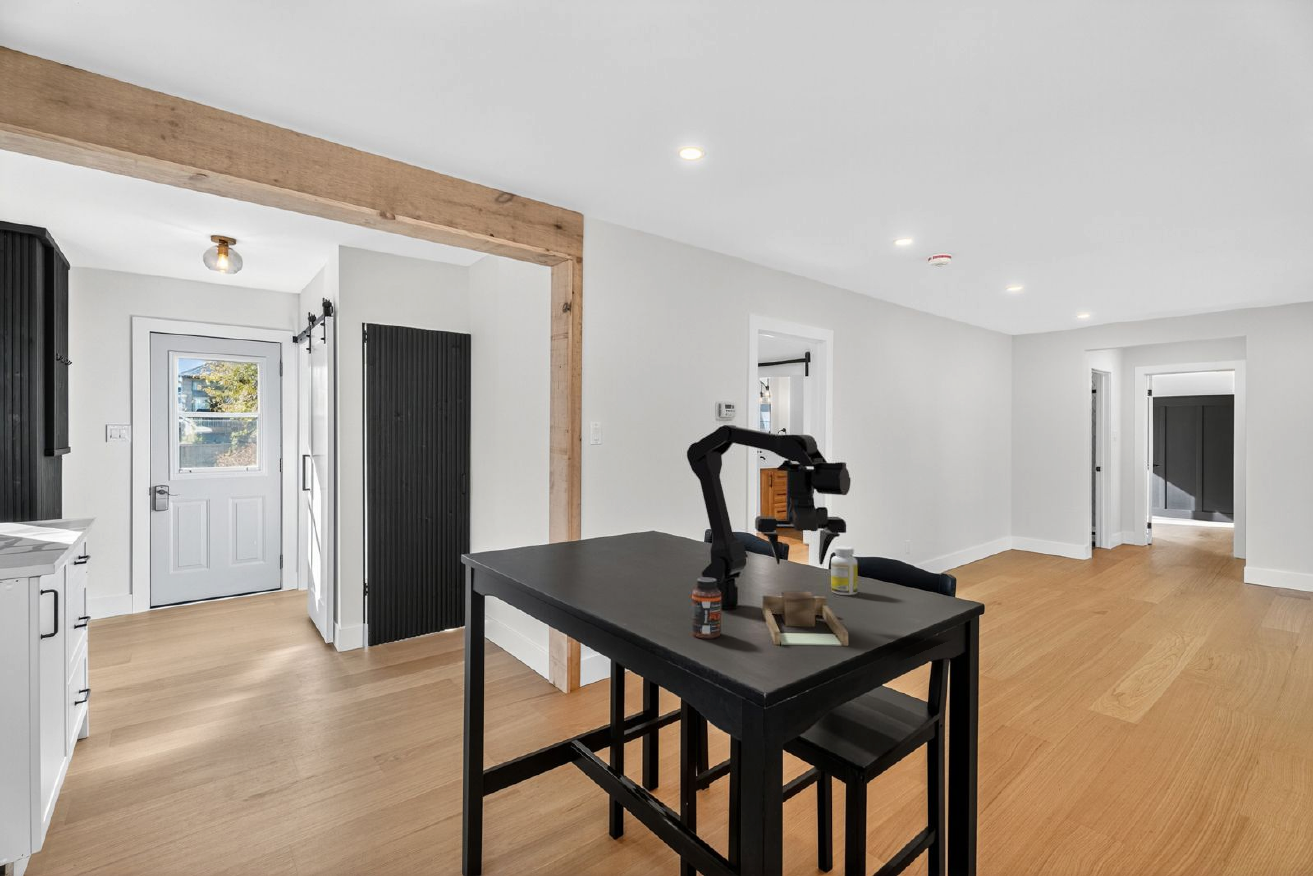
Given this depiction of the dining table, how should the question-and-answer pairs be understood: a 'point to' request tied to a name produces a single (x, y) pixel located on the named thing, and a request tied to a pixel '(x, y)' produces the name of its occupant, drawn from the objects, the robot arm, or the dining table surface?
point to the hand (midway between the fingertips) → (799, 564)
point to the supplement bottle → (706, 609)
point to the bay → (775, 607)
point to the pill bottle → (844, 571)
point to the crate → (798, 608)
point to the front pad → (808, 639)
